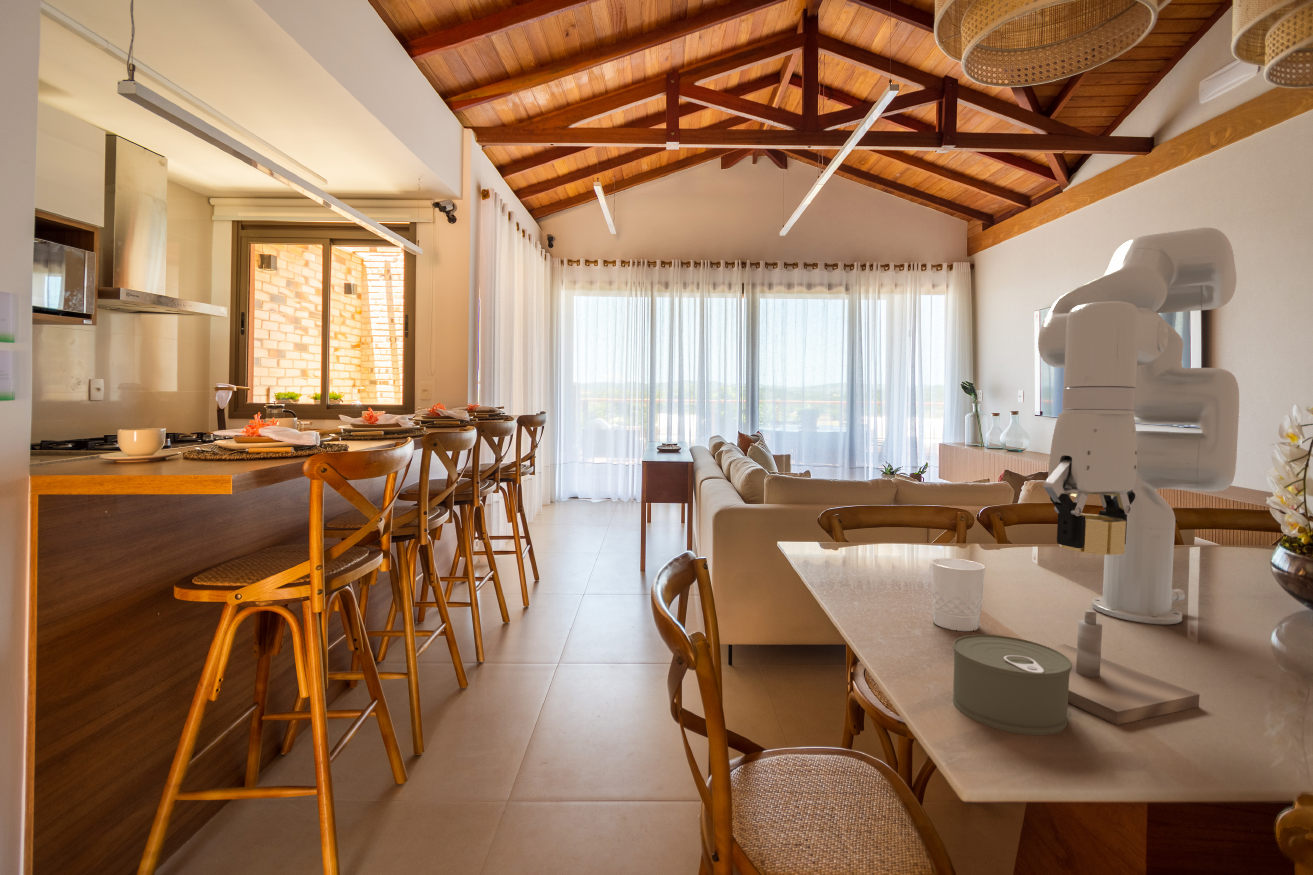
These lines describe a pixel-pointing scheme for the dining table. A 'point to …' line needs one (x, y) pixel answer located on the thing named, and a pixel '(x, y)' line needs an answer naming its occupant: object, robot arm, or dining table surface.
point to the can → (1011, 684)
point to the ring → (1102, 535)
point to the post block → (1116, 682)
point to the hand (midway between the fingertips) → (1091, 543)
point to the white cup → (957, 593)
